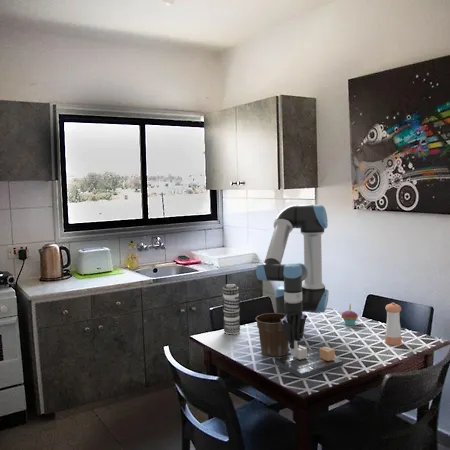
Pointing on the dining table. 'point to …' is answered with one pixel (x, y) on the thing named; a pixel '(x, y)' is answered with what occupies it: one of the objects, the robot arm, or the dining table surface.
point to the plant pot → (272, 334)
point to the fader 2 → (327, 353)
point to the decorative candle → (231, 309)
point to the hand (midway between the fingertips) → (294, 355)
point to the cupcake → (349, 317)
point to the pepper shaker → (393, 325)
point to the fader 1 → (301, 352)
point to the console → (307, 364)
